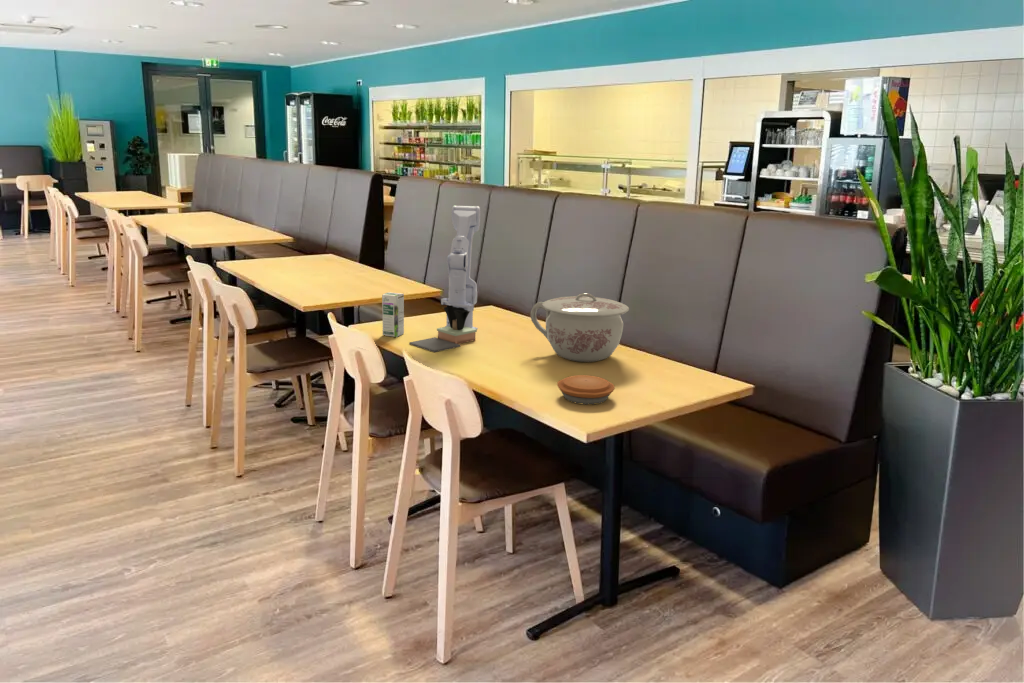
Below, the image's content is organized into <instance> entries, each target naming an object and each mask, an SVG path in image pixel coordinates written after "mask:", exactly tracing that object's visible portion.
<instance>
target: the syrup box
mask: <svg viewBox="0 0 1024 683" xmlns="http://www.w3.org/2000/svg"><path fill="white" fill-rule="evenodd" d="M404 295H405V294H404V293H400V292H399V293H398V292H390V291H389V292H385V293H383V294H382V297H381V298H382V299H381V301H382V302H381V308H382V309H381V310H382V336H383V335H385V336H384V337H386V336H387V337H391V338H392V337H393V338H398V337H400V336H402V335H403V334H405V312H404V311H405V308H404V307H405V303H404V302H405V301H404V300H405V296H404Z"/></svg>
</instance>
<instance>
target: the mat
mask: <svg viewBox="0 0 1024 683" xmlns="http://www.w3.org/2000/svg"><path fill="white" fill-rule="evenodd" d="M408 344H409V345H411V346H414V347H417V348H419V349H423V350H427V351H430V352H433V353H438V352H441V351H442V352H443V351H447V350H451V349H455V348H459V347H461V344H456V343H452V342H449V341H446V340H443V339H439V338H438V337H435V336H434V337H430V338H423V339H420V340H415V341H409V342H408Z"/></svg>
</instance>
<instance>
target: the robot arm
mask: <svg viewBox="0 0 1024 683" xmlns="http://www.w3.org/2000/svg"><path fill="white" fill-rule="evenodd" d="M451 222H452V227H453V231H456V235H455V237H453V239H452V241H451V245H450V246H451V247H450V252H449V254H448V255H447V256H446V257H447V258H446V267H447V276H448V297H444V298H440V304H441V305H442V306H443V305H446V306H445V307H443V310H444V313H445V314H446V325H445V326H444V327H447V326H450V327H451V328H452V324H453V320H454V319H456V320H457V329H458V330H461V329H463V328H464V326H466V327H470V328H473V329H477V330H478V328H479V327H476V326H474V324H473V323H474V321H473V320H474V319H473V318H474V311H475V305H476V304H477V302H478V284H477V282H476V281H475V280H474V279H472V278H471V267H472V252H473V239H474V234H475V233H477V232H479V231H480V227H481V226H480V225H481V207H480V206H479V205H473V206H472V205H453V206H452V207H451Z"/></svg>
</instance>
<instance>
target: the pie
mask: <svg viewBox="0 0 1024 683" xmlns="http://www.w3.org/2000/svg"><path fill="white" fill-rule="evenodd" d="M556 382H557V383H556V385H557V387H558V389H559V390H560V392H561V394H562V396H563V397H564V398H565V400H566V399H567V400H566V401H568V400H569V401H568V402H570V401H572V402H571V403H573V402H576V403H575V404H578V403H583V404H582V405H588V404H592V405H595V404H594V403H599V404H602V403H604V401H605V402H606V401H607V399H609V397H610V395H611V394H612V393H613V392H614V390H615V389H616V388H615V385H614V383H612V382H611V381H608V380H607V379H606V378H602V377H599V376H595V375H586V374H578V375H571V376H567V377H565V378H563V379H560V380H558V381H556ZM601 402H602V403H601Z"/></svg>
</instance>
